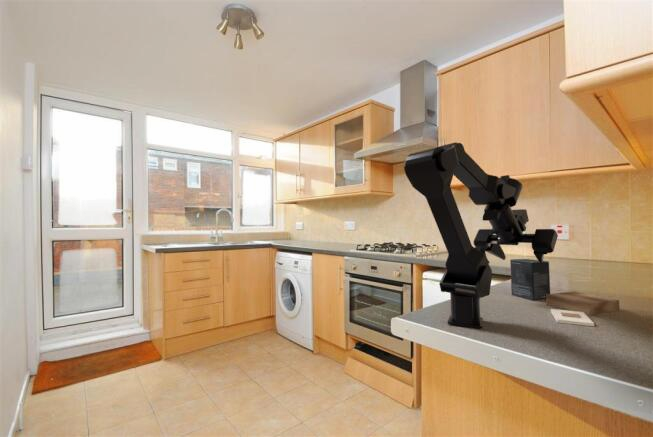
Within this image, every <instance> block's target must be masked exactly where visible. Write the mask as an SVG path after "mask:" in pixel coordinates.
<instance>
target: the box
mask: <svg viewBox="0 0 653 437" xmlns="http://www.w3.org/2000/svg"><path fill="white" fill-rule="evenodd" d="M509 260H510V261H509V262H510V281H511V282H510V285H511V287H510V288H511V295H512V296H515V297H519V298H523V299H526V300H530V301H533V302H534V301H535V302H536V301H546V294H551V283H550V262H549V261H548V260H547V261H546V260H543V262H542V263H540V262H539V261H538V259H531V258H511V259H509Z"/></svg>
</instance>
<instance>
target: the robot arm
mask: <svg viewBox="0 0 653 437" xmlns="http://www.w3.org/2000/svg"><path fill="white" fill-rule="evenodd" d="M403 169H404V170H403V171H404V174H405V175H406V178H407V179H408V181H409V183H410V184H411V186H412V188H414V189H415V191H417V192H418V193H420V194H421V195H422V196H424V197H425V199H426V201H427V203H428V204H427V205H428V207H429V209H430V212H431V215H432V216H433V219H434V221H435V223H436V227H437V229H438V231H439V234H440V237H441V239H442V241H443V244H444V245H445V249H446V251H447V254H448V255H447V258H446V260H445V270H444V272H443V275H442V277H441V279H440V281H439V288H440V292H442V293H447V294H448V293H450V316H449V318H448V319H447V325H453V326H461V327H467V328H469V327H470V328H476V329H482V328H483V324H484V318H483V317H481V304H480V303H481V302H480V299H481V298H485V297H488V296H490V292H491V285H492V278H493V270H492V268H491V266H490V261H489V260H488V257H487V253H488V254H490V255H493V256H495V257H497V258H499V259H500V260H502V261H505V260H506V257H507V256H506V255H505V252H504V250H503V248H502V245H503V246H519V244H520V243H524V244H531V250H532V252H533V253H532V254H533V255H534V256H535V258H536V260H538V261H539V262H540V263H542V262H543V261H544V256H545V255H548V254H552V253H553V252H554V251H555V247H556V244H557V240H558V238H559V235H558V232H557V230H556V229H554V228H537V229H535V231H534V233H524V232H526V230H527V226H526V224H527V223H528V222H529V220H530V219H529V215H528V211H527V209H524V208H523V209H520V208H519V209H512V208H513V207H515V206H516V205H517V203H518V200H519V198H520V195H521V192H522V191H523V184H522V182H520V181H519V180H518V179H515V178H512V177H511V176H510V175H509V174H507V175H501V176H497V175H494V174H493V175H492V174H488V173H487V172H486V171H485V170H484V169H483V168H481V166H480V165H479V164H478V163H477V162H476V161H475V160H474V159H473V158H472V156H470V155H469V153H468V152H466V150H465V147H464V145H463V144H462V143H461V142H458V141H457V142H455V141H454V142H451V143H447V144H443V145H439V146H436V147H432V148H428V149H423V150H420V151H419V150H418V151H416V152H411V153H409V154H408V156H407V157H406V159H405V161H404V164H403ZM454 177H455V178H456V179H457V180H459V182H460V183H462V184H463V185H464V186H465V187H466V188H467V189H468V198H470V200H471V202H473V203H474V205H476V206H485V207H484V210H483V215H482V221H483V222H486V221H487V222H488V221H489V224H490V226H491V228H480V229H478V230H477V233H476V235H475V237H474V239H473V244H472V242H471V239H470V237H469V234H468V231H467V229H466V226H465V223H464V221H463V218H462V215H461V212H460V210H459V207H458V204H457V202H456V199H455V196H454V194H453V191H452V189H451V185H452V180H453V178H454Z"/></svg>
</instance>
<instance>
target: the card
mask: <svg viewBox="0 0 653 437" xmlns="http://www.w3.org/2000/svg"><path fill="white" fill-rule="evenodd" d="M550 312H551V314H552V316H553V317H554V319H555V321H556V323H561V324H569V325H579V326H585V327H595V323H594V322H593V320H591V318H589V315H588V314H585V313H584V312H578V311H572V310H568V309H557V308H556V309H555V308H550Z"/></svg>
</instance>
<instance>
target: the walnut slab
mask: <svg viewBox="0 0 653 437" xmlns="http://www.w3.org/2000/svg"><path fill="white" fill-rule="evenodd" d="M545 304H546V305H547V306H548V305H549V306H553V307H557V308H561V309H563V310H568V311H578V312H584V313H585V314H586V315H587V316H589V315H590V316H592V315H597V314H604V313H611V312H619V311H620V299H617V298H611V297H606V296H601V295H600V296H599V295H595V294H591V293H585V292H579V291H576V290H575V291H573V290H572V291H565V292H555V293H550V294H546V300H545Z"/></svg>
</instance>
